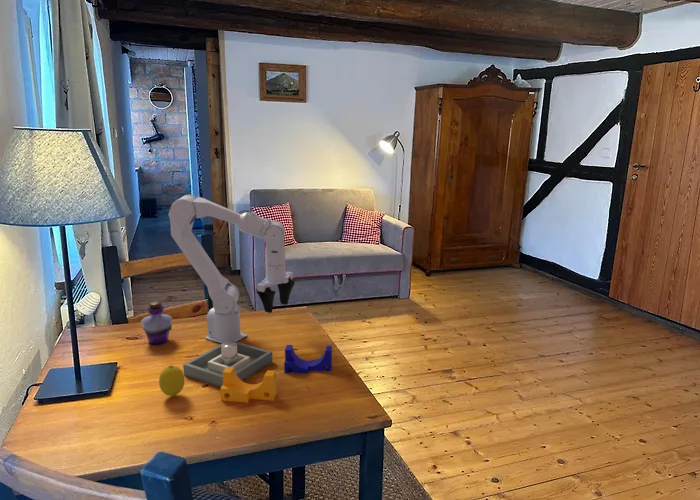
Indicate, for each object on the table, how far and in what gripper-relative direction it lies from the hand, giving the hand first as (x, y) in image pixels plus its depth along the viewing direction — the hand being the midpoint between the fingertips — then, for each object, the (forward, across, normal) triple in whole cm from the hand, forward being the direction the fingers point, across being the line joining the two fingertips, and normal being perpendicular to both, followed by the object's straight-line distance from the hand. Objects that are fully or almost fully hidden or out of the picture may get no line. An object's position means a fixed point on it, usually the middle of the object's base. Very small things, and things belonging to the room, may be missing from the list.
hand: (276, 307), depth 148 cm
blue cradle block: (+10, -12, -19) cm, 25 cm away
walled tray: (+9, -22, -1) cm, 24 cm away
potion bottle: (+10, -20, +28) cm, 36 cm away
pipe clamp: (+10, -30, -15) cm, 35 cm away
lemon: (+10, -39, +1) cm, 40 cm away
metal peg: (+9, -22, -1) cm, 24 cm away
